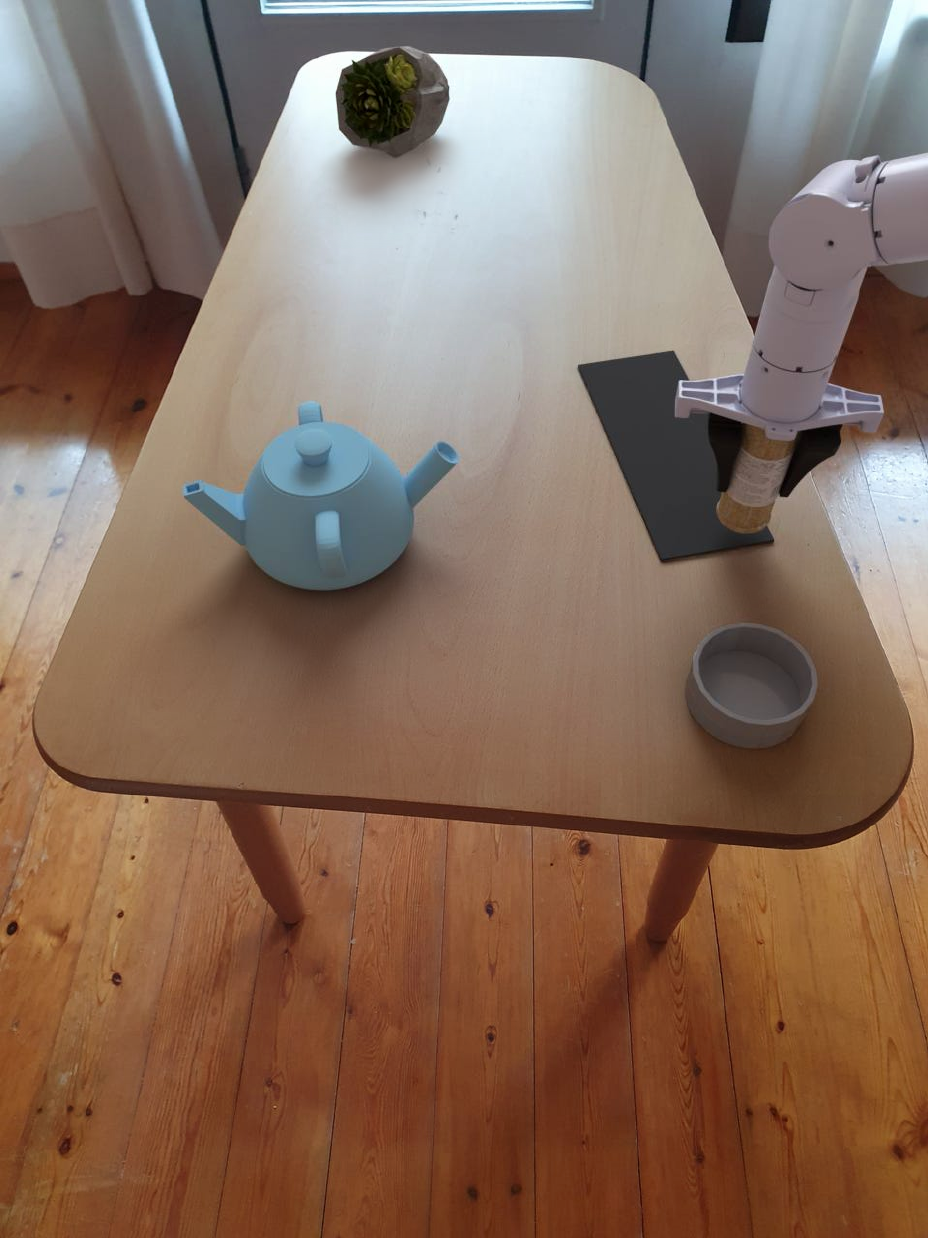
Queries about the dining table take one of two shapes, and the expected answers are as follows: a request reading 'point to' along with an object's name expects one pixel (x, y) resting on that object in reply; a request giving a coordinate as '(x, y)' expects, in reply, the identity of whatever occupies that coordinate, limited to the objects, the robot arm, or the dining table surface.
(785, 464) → the sprinkles bottle
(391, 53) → the potted plant
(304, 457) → the teapot
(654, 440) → the mat
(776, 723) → the basin
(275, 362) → the dining table surface
